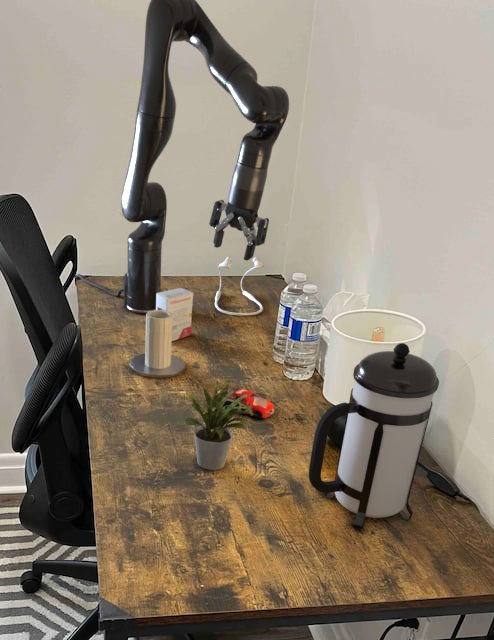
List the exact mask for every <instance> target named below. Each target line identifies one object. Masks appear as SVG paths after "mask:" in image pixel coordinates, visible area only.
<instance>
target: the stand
mask: <svg viewBox="0 0 494 640" xmlns="http://www.w3.org/2000/svg"><path fill="white" fill-rule="evenodd" d="M129 369H130V370H131V371H132V372H133V373H135V375H139V376H140V377H141V376H142V377H145V378H151V379H167V378H172V377H176V376H179V375H181V374H182V373H183V372H184V371H185V370H186V363H185V362H184V360H183V359H182V358H180V356H179V357H178V356H176V355H175V354H171V365H170V366H169V367H167V368H163V369H155V368H150V367H148V366H147V365H146V364H145V353H142V354H138V355H135V356H134V357H133V358H131V360H130V361H129Z"/></svg>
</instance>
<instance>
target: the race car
mask: <svg viewBox="0 0 494 640" xmlns="http://www.w3.org/2000/svg"><path fill="white" fill-rule="evenodd" d="M236 388H237V389H236ZM221 389H222V388H220V389H219V390H217V396H218V395H219V393H220V391H221ZM234 389H236V390H235V391H234V392H233V393H232V394H231V395H230V396H229V397H228V399H227V400H226V402H225V403H224V404H223V407H224V406H227V405H230V404H232V403H233V402H234V401H235V400H237V399H238V398H239V397H241V396H243V395H247V394H251V395H249V396H247V397H245V398H243V399H242V400H241V401H240V402H239V403H238V404H237V405H236V406H234V407H239V406H240V407H246V408H249V409H244V408H235V409H237V410H240V411H247V412H250V413H253V414H256V415H253V414H248V413H243V414H244V415H248V416H252V417H254V418H255V420H261V419H266V418H270V417H272V416H273V415H274V414H275V405H274V404H273V403H272V402H271V401H270V400H267V399H265V398H263V397H260V396H259V394H258V393H257V394H256V393H255V392H253V391H252V390H249V389H246V388H242V387H235V386H233V387H228V394H229V393H230V392H231V391H233V390H234ZM227 407H228V406H227ZM227 407H226V408H225V410H226V409H227ZM235 409H231V410H230V411H232V410H235Z"/></svg>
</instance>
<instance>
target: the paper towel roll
mask: <svg viewBox="0 0 494 640" xmlns="http://www.w3.org/2000/svg"><path fill="white" fill-rule="evenodd" d="M172 322H173V315H172V313H170V312H168V311H164V310H153V311H149V312H147V314H145V344H144V346H145V347H144V348H145V350H144V352H145V353H144V354H145V364H146V365H147V366H148V367H150V368H155V369H163V368H167V367H169V366H170V365H171V355H172V345H173V344H172V343H173V341H172Z"/></svg>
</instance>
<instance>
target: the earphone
mask: <svg viewBox="0 0 494 640" xmlns="http://www.w3.org/2000/svg"><path fill="white" fill-rule="evenodd" d="M232 261H233V259H232V257H231V256H227V257H226V258H225V260H224V261H223V262H221V263H219V264H218V273H219V279H220V282H219V288H218V290H217V291H216V294H215V297H214V301H215V302H214V307H215V308H216V310H217V311H218V312H220V313H222V314H225V315H229V316H255V315H259V314H261V313H262V312H263V310H264V307H263V304H262V303H261V302H260V301H259V300H258V299H256V298H255V296H254V295H253V294H251V293H250V292H248V291H247V290H244V289H243V280H244V278H245V276H246V275H247V274H248V273H249V272H250V271H252V270H254V269H256V270H258V269H260V268H262V267H264V266H265V264H264V263H263V262H262V261H261V260H260V259H259V257H258V256H253V257H252V263H254V267H251V268H250V269H249V270H247V271H246V272H245V273H244V274H243V276H242V277H241V280H240V289H241V292H242V295H243V296H244V297H246V298H247V299H248V300H250V301H252V302H254V303H256V305H258V306H259V309H258V310H257V311H251V312H233V311H227V310H224V309H222V308H221V307H219V305H218V303H219V301H220V298H221V296H222V291H221V290H222V289H221V288H222V274H221V270H220V268H225V269H228V270H229V269H230V268H231V263H232Z"/></svg>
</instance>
